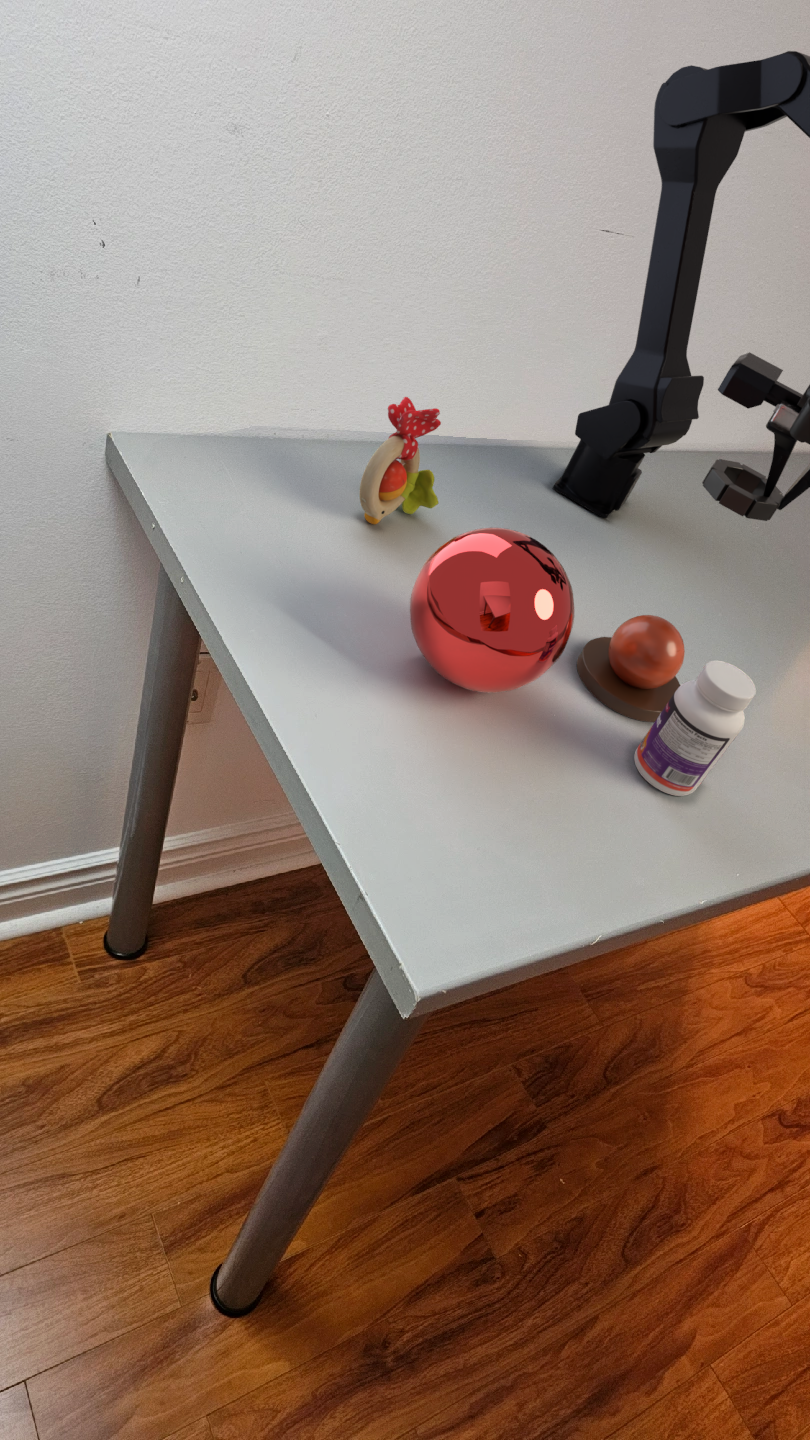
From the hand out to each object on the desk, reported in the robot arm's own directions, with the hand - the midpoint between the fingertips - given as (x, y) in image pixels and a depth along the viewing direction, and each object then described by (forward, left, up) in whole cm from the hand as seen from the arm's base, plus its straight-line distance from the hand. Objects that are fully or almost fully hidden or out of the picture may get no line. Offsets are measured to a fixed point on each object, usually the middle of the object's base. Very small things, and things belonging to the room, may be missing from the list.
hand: (771, 504), depth 97 cm
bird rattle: (-28, -19, -11) cm, 36 cm away
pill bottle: (+4, -30, -11) cm, 32 cm away
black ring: (-3, 0, -1) cm, 3 cm away
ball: (-13, -33, -11) cm, 37 cm away
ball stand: (-2, -22, -11) cm, 25 cm away
